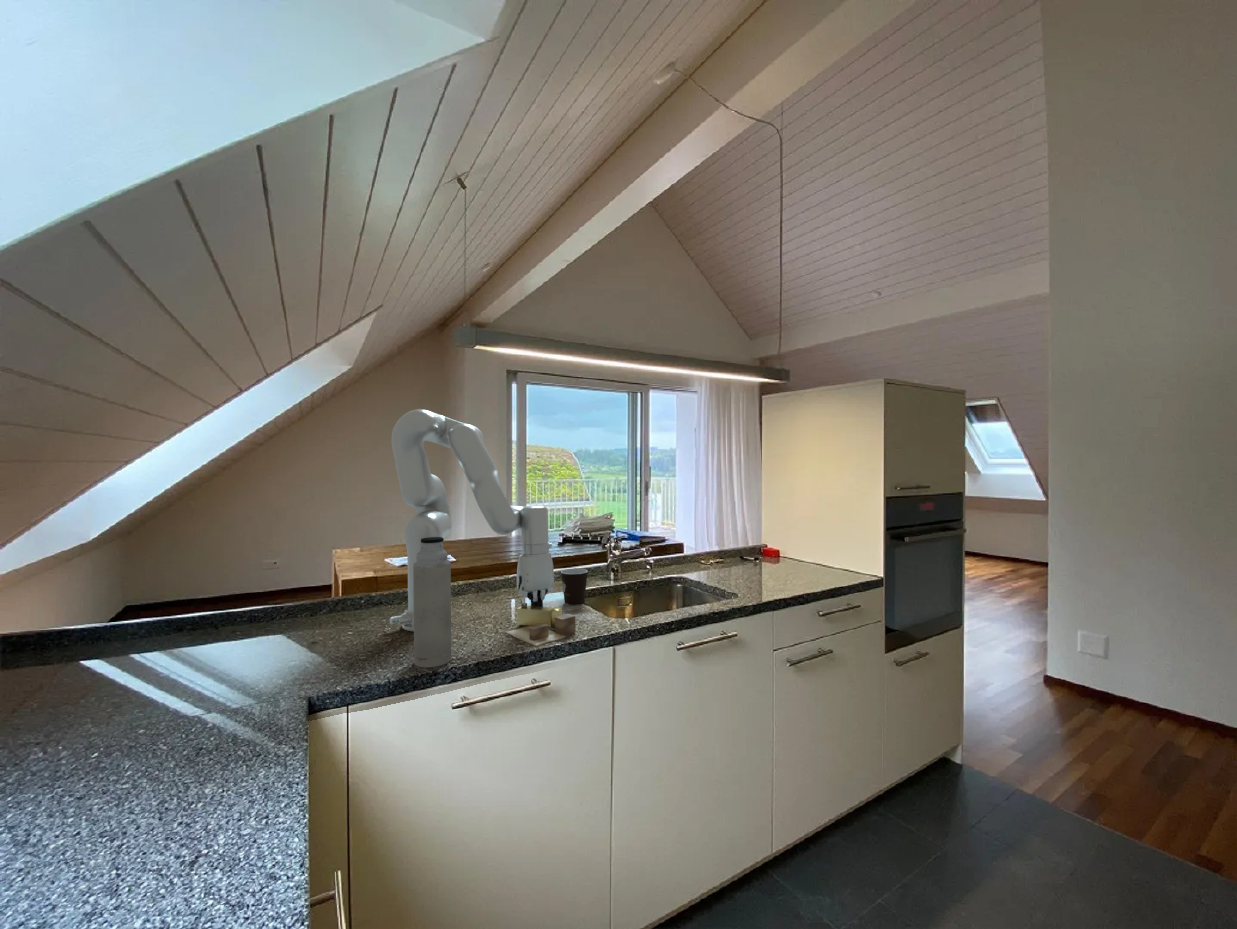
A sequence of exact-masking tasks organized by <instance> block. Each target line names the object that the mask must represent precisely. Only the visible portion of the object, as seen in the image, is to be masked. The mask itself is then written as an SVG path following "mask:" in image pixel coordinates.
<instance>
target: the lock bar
mask: <svg viewBox="0 0 1237 929" xmlns="http://www.w3.org/2000/svg"><path fill="white" fill-rule="evenodd" d="M561 615H563V608H561V607H548V606H547V607H546V606H543V607H536V606H531V605H528V603H527V602H521V603H520V606H518V607H517V608H516V625H517V626H519V625H521V626H530V625H531V626H538V625H541V624H547V625H549V627H554V628H555V617H557V616H561Z"/></svg>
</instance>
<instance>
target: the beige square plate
mask: <svg viewBox="0 0 1237 929" xmlns="http://www.w3.org/2000/svg"><path fill="white" fill-rule="evenodd" d="M530 627H534V626H531V625H526V626H524V627H520V628H516V629H511V630H508V631H506V632H505V634H508V635H509V636H512V637H514V638H516V639H518V640H521V641H523V642H526V643H528V644H530V645H532V646H535V647H539V646H542V645H546V644H549V643H551V642H556V641H559V640H561V639H562V640H563V639H565V638H566V637H567V635H566V636H564V635H560V634H557V633H555V628H554V627H549V637H545V638H542V639H538V640H535V641H533V640H530V635H529V628H530ZM555 640H556V641H555Z"/></svg>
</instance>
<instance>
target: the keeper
mask: <svg viewBox="0 0 1237 929" xmlns="http://www.w3.org/2000/svg"><path fill="white" fill-rule="evenodd" d="M529 635H530V640H533V641H535V640H538V639H542V638H545V637H549V625H547V624H541V625H538V626H534V627H530V628H529Z"/></svg>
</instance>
